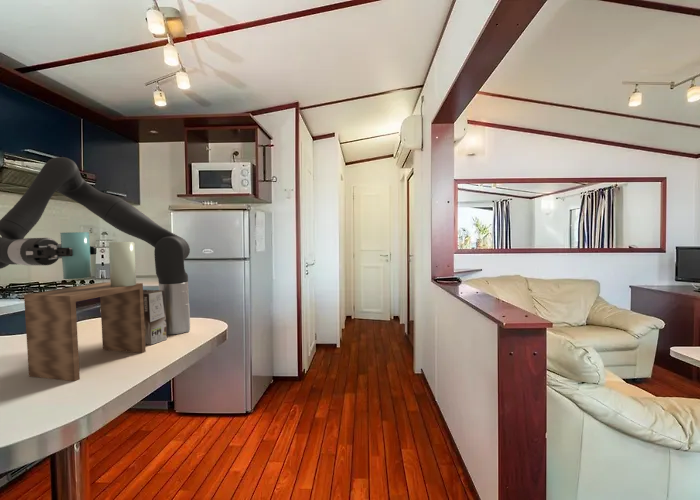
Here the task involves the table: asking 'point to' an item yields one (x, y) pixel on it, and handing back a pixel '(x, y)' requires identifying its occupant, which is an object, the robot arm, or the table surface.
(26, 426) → the table surface
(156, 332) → the coffee box
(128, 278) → the pale green cylinder
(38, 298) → the stand
